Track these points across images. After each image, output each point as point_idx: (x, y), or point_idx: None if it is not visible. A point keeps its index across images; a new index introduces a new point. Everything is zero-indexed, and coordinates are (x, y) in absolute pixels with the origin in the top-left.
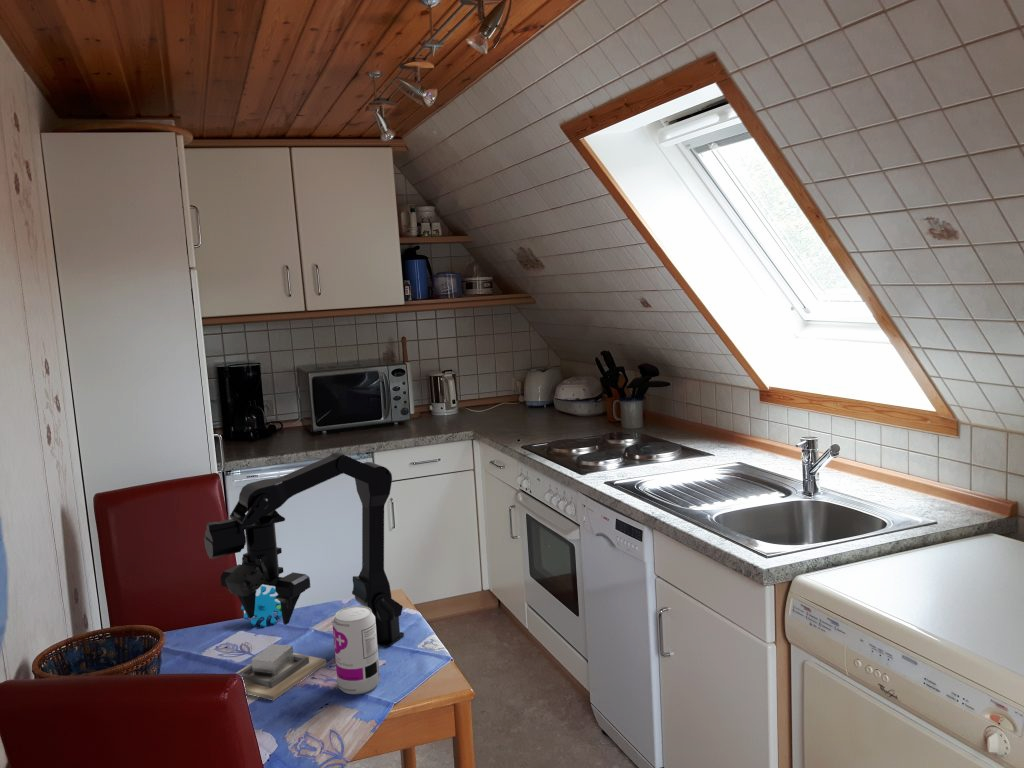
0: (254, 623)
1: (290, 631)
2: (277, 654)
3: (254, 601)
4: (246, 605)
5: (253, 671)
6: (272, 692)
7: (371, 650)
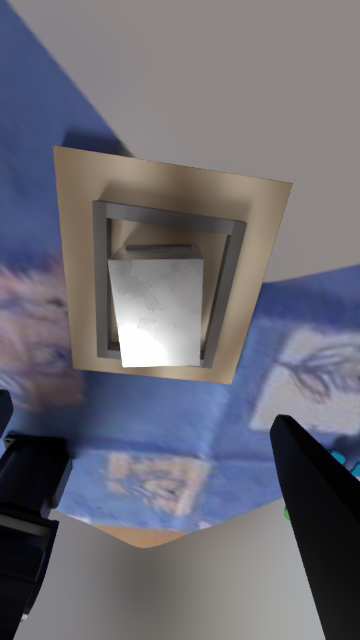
0: (333, 454)
1: (245, 447)
2: (131, 311)
3: (301, 545)
4: (339, 504)
5: (196, 248)
6: (75, 171)
7: None
